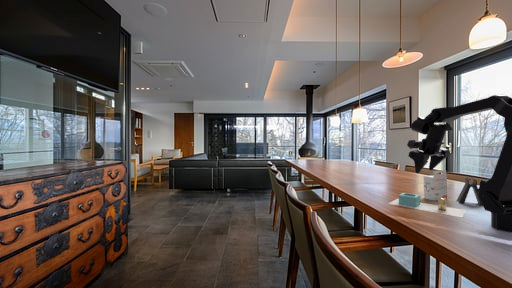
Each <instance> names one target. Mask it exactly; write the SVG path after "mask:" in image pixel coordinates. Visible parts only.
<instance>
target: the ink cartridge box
mask: <svg viewBox="0 0 512 288" xmlns="http://www.w3.org/2000/svg"><path fill="white" fill-rule="evenodd" d="M432 173H433V175H423V199H427V200H430V201H438V198H445V199H446V201H447V200H448V176H447V170H446V169H444V170H433V171H432Z"/></svg>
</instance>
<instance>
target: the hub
mask: <svg viewBox="0 0 512 288" xmlns="http://www.w3.org/2000/svg"><path fill="white" fill-rule="evenodd" d="M437 205H438V210H442V211H447V207H448V204H447V200H446V199H445V198H438V200H437Z"/></svg>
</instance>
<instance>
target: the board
mask: <svg viewBox="0 0 512 288" xmlns="http://www.w3.org/2000/svg"><path fill="white" fill-rule="evenodd" d="M405 193H406V196H413V194H414V193H410V192H405ZM388 205H393V206H398V207H403V208H409V209H415V210H420V211H425V212H430V213H436V214H440V215H441V214H442V215H446V216H452V217H457V218H463V217H464V216H465V214H466V212H467V209H462V208H455V207H449V206H447V211H442V210H438V204H431V203H425V202H420V205H419V206H417V207H413V206H407V205H402V204H399V198H396V199H394V200H392V201H391V202H388Z"/></svg>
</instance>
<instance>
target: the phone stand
mask: <svg viewBox="0 0 512 288" xmlns="http://www.w3.org/2000/svg"><path fill="white" fill-rule="evenodd" d="M471 180H472V182H469V181H471ZM471 188H472V190H473V193H474V196H475V199H476V202H477V203H475V202H471V204H472V205H479V206H481V207H483V204H482V202H481V200H480V198H479V197H478V192H479V191H477V190H478V188H479V187H478V181H477V180H476V179H475V178H473V177H469V176H466V177H465V178H464V185H463V187H462V189H461V191H460V193H459V195H458V197H457V199H456V202H457V203H458V204H466V203H467V204H469V202H466V199H467V198H468V194H469V192H470V189H471Z"/></svg>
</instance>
